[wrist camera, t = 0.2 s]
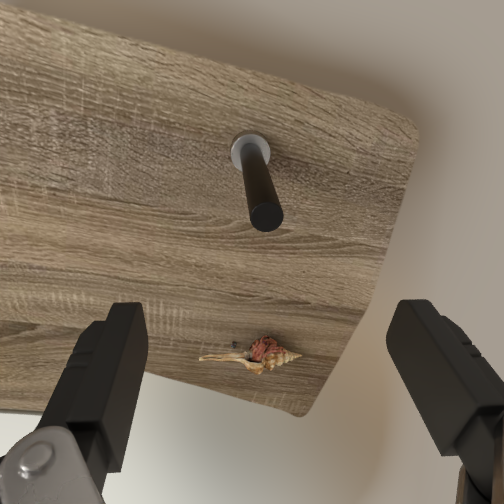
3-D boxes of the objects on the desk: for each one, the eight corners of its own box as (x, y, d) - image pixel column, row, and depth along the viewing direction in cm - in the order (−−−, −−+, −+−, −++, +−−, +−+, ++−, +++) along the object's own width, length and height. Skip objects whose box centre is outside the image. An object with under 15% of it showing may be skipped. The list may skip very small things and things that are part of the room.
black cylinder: (230, 129, 30) (236, 189, 19) (269, 130, 31) (300, 188, 19) (230, 168, 32) (236, 244, 21) (267, 168, 33) (294, 243, 21)
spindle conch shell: (301, 324, 45) (308, 349, 41) (300, 350, 48) (307, 376, 44) (199, 334, 44) (197, 360, 41) (204, 360, 47) (203, 387, 43)
